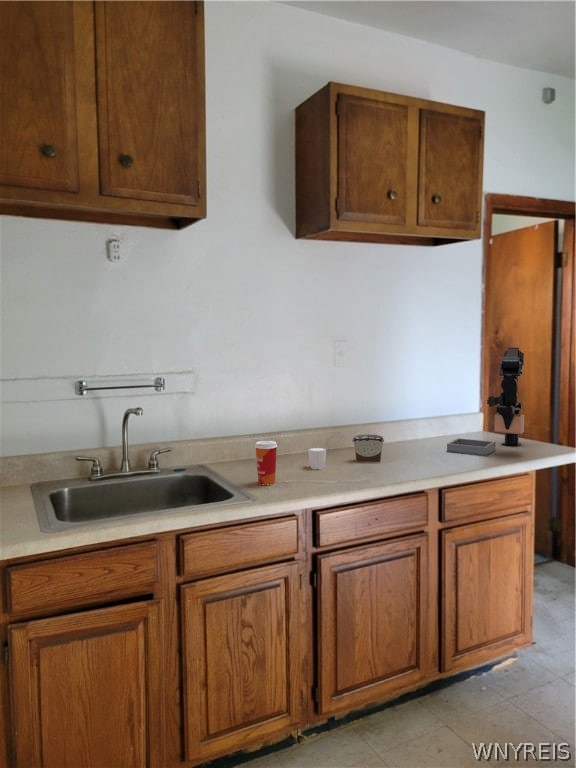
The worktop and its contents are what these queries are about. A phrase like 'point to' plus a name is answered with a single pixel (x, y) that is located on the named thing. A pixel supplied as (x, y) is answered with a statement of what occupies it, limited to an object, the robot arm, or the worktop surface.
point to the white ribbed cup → (317, 457)
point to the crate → (471, 447)
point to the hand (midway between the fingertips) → (509, 428)
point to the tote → (515, 426)
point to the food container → (368, 448)
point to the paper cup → (266, 461)
